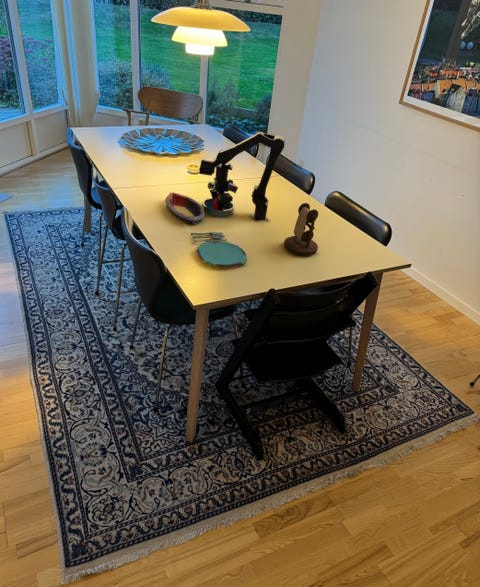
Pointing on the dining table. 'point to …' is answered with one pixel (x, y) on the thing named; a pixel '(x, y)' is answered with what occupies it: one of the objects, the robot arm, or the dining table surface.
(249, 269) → the dining table surface
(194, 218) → the dish
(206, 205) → the bowl
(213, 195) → the robot arm
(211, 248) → the cutlery set
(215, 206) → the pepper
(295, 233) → the brown upright piece
